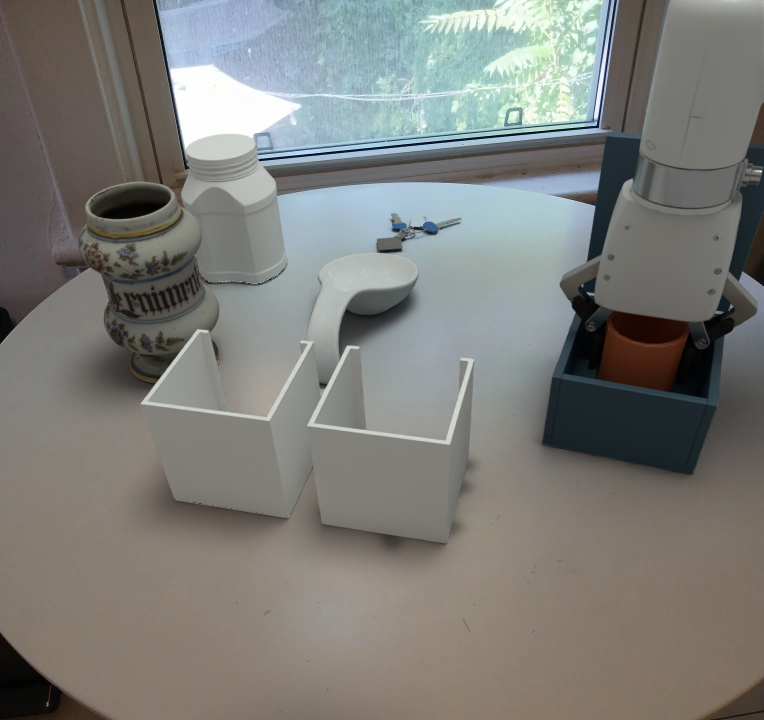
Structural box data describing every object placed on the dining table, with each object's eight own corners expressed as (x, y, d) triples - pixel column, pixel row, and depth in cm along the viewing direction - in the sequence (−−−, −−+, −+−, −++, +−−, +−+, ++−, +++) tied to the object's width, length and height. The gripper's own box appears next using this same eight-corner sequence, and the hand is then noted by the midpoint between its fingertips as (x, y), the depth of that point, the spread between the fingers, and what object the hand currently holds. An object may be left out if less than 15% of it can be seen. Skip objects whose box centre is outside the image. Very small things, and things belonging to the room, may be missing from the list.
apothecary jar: (176, 404, 76) (125, 238, 63) (97, 370, 81) (35, 210, 68) (251, 346, 83) (218, 186, 70) (174, 319, 88) (130, 164, 75)
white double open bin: (174, 500, 66) (140, 403, 58) (222, 424, 73) (197, 329, 65) (446, 543, 61) (449, 444, 53) (468, 457, 68) (474, 359, 60)
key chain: (388, 257, 96) (388, 251, 95) (348, 237, 100) (347, 231, 100) (462, 222, 102) (462, 216, 101) (421, 205, 106) (421, 199, 106)
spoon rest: (339, 272, 94) (333, 218, 89) (428, 281, 91) (428, 225, 86) (272, 380, 78) (261, 321, 73) (378, 394, 76) (374, 334, 70)
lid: (785, 150, 56) (788, 117, 59) (606, 135, 60) (617, 104, 63) (727, 312, 69) (732, 278, 72) (582, 291, 72) (592, 260, 75)
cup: (623, 365, 74) (640, 294, 68) (683, 397, 70) (706, 324, 64) (577, 394, 71) (590, 322, 65) (637, 429, 67) (657, 356, 61)
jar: (190, 283, 94) (159, 161, 83) (212, 247, 100) (186, 131, 89) (277, 285, 92) (257, 162, 81) (294, 249, 99) (277, 131, 88)
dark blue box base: (692, 475, 65) (717, 405, 60) (541, 444, 69) (552, 376, 64) (704, 381, 75) (726, 314, 69) (570, 359, 79) (582, 293, 73)
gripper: (809, 168, 56) (737, 363, 68) (579, 147, 60) (552, 333, 73) (811, 210, 51) (733, 410, 64) (561, 183, 56) (535, 375, 68)
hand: (637, 368), depth 68 cm, fingers closed on cup, 7 cm apart
